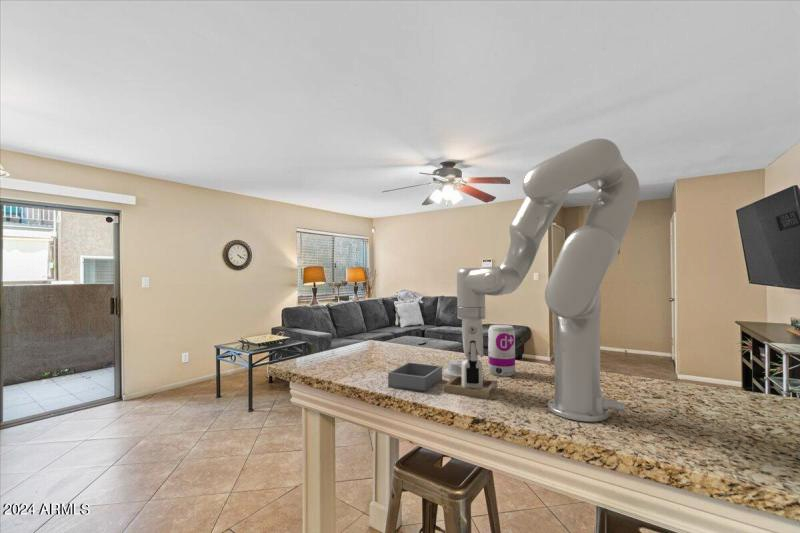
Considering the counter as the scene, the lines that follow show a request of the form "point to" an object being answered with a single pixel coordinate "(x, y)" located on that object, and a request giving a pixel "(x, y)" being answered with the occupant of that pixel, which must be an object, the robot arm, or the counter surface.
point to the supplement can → (501, 350)
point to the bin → (415, 377)
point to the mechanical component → (453, 368)
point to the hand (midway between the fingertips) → (472, 379)
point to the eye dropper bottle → (464, 379)
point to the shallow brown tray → (467, 391)
